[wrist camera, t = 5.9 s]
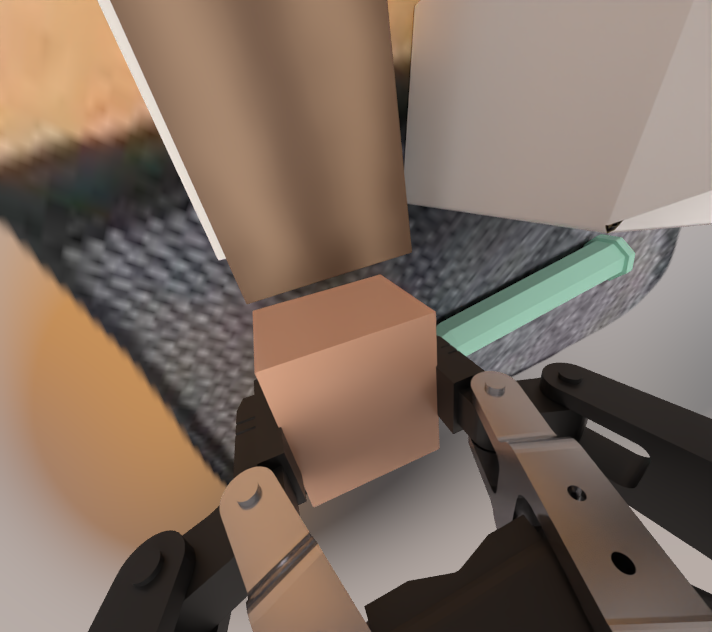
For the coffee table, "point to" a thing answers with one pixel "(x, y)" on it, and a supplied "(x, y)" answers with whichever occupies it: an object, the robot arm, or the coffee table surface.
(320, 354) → the support block
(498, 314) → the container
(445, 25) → the gable box
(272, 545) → the robot arm
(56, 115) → the coffee table surface
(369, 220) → the plank
